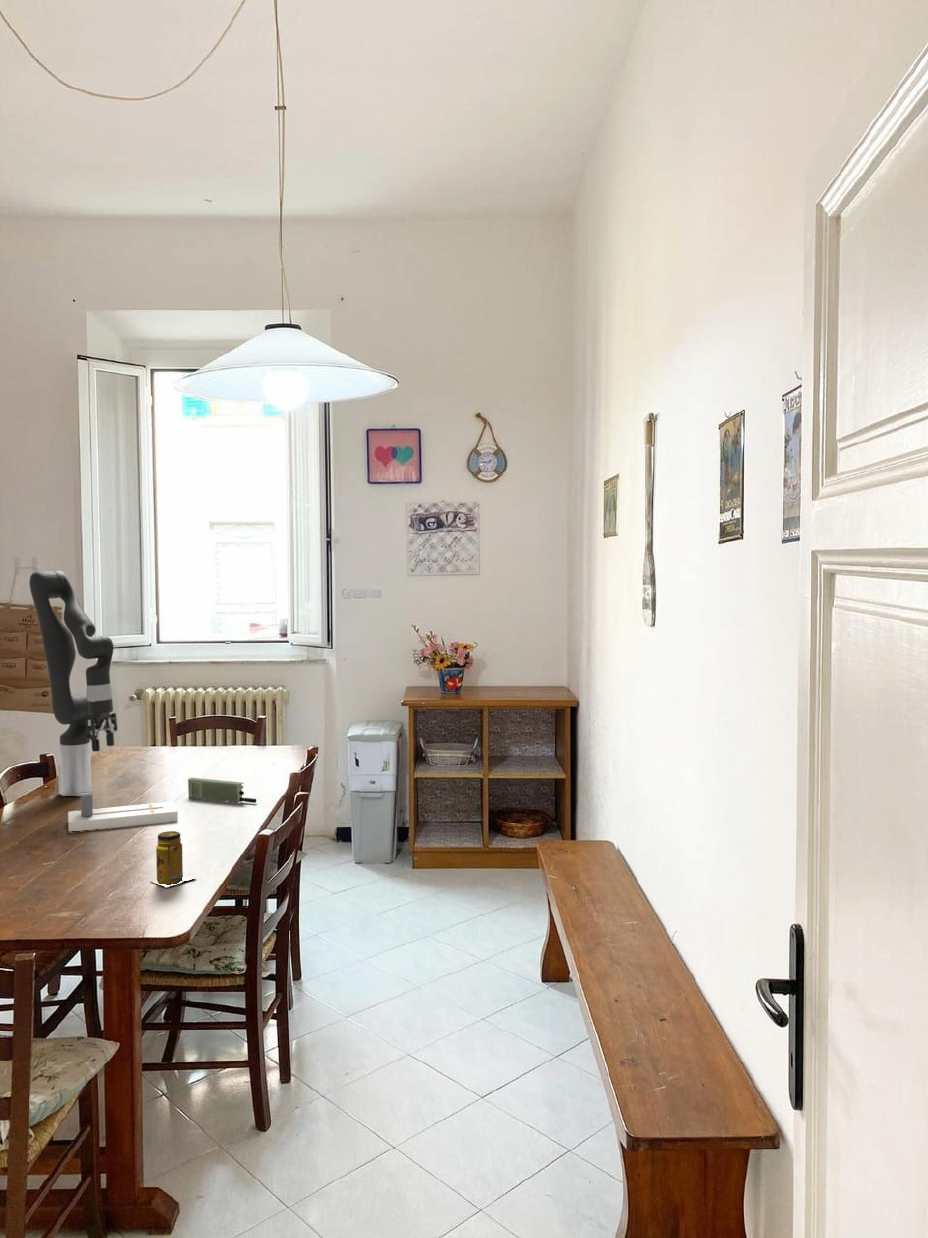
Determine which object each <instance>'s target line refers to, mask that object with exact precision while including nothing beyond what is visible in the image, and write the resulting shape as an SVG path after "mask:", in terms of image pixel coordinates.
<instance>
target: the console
mask: <svg viewBox="0 0 928 1238" xmlns="http://www.w3.org/2000/svg"><path fill="white" fill-rule="evenodd" d="M92 811H93V815H91V816H81V809H80V810H71V811H68V815H67V816H68V818H67V819H68V832H69V831H80V832H84V831H83V830H89V831H96V830H95V829H99V830H107V829H115V828H123V827H124V828H126V827H127V828H128V827H136V826H145V825H154V824H162V823H172V822H178V821H179V820H178V809H177V807H176V805H175V802H174V801H164V802H155V803H154V802H153V803H152V802H151V803H145V804H143V803H142V804H136V805H135V804H132V805H123V806H114V807H113V806H112V807H102V808H92ZM106 828H107V829H106ZM93 829H94V830H93ZM81 830H82V831H81Z"/></svg>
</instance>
